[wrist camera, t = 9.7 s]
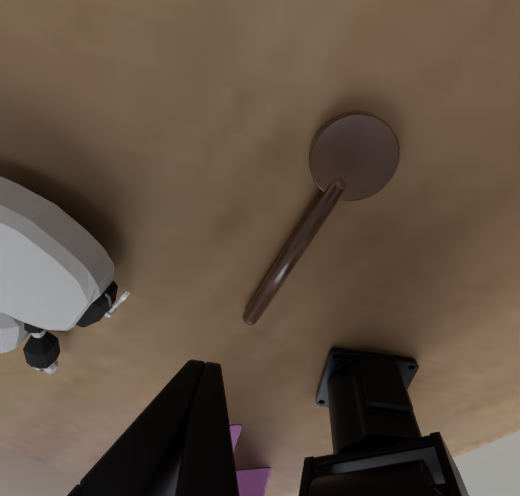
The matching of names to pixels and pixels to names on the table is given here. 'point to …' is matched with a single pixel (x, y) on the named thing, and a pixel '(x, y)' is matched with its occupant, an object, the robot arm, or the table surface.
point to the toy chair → (249, 473)
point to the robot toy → (48, 275)
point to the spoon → (334, 186)
